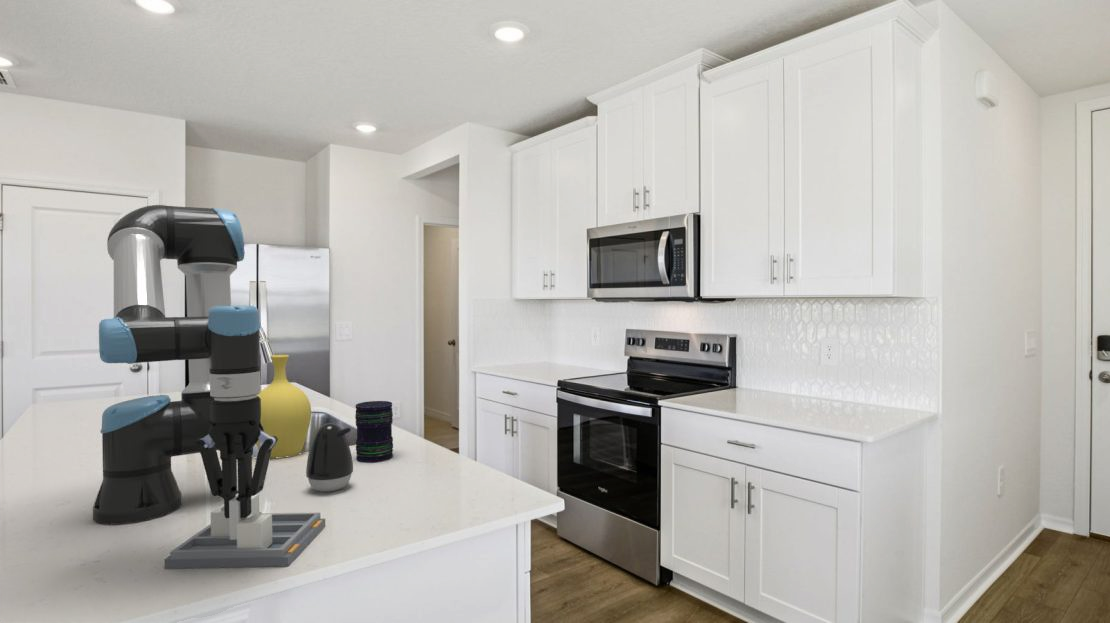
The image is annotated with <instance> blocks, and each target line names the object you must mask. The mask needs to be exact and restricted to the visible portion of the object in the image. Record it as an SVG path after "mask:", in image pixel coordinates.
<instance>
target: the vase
mask: <svg viewBox="0 0 1110 623" xmlns="http://www.w3.org/2000/svg"><path fill="white" fill-rule="evenodd" d="M289 357H290V355H289V354H273V355H270V356H269V358H270V360H271V362H272V364H273V369H274V371H273V373H274V375H273V380H272V381H271V383H270V384H269V385H268V386H266V387H265V388H263V389H261V392H260V393H259V394H257V396H258V397H259V398H261V420H260V422H261V425H262V427H263V429H264V433H266V434H268V435H269V436H271V437H273V436H276V437H277V438H278V441H277V442H276V444H275V446H274V447H273V449H272V451H271V455H270V459H272V458H273V459H277V458H276V457H285V458H287V457H286V456H291V457H293V455H294V456H297V455H300V454H301V453H302V450H303V448H304V446H305V442H306V438H307V436H308V433H309V430H310V425H311V420H312V419H311V418H312V407H311V402H310V399H309V398H308V396H307V395H306V393H305V392H304V391H303V390H302V389H300V388H299V387H297V386H295V385H293V383H291V382H290V381H289V380H288V379H287V374H286V366H287V362H288V360H289ZM259 442H260V441H259V440H258V441H257V443H256V444H255V446H256V447H257V449H258V451H259V449H260V447H259Z"/></svg>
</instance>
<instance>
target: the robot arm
mask: <svg viewBox="0 0 1110 623" xmlns="http://www.w3.org/2000/svg"><path fill="white" fill-rule="evenodd" d="M106 242H107V243H106V244H107V245H106V247H107V252H108V253H107V254H108V255H109V258H110V259H111V260H112V261H113V318H104V319H101V320H100V322H99V324H98V347H99V348H98V351H99V358H100V360H101V362H103V363H106V364H128V365H131V364H132V365H133V364H140V363H155V362H167V361H168V362H169V361H185V360H186V361H187V360H188V381H189V383H188V385H187V386H185V388H184V389H183V390H181V394H180V395H181V400H176V401H174V400H173V401H171V400H172V399H171V398H170V396H169V395H168V394H167V395H166V394H159V395H149V396H143V397H137V398H132V399H129V400H125V401H120V402H118V403H115V404H112V405H110V406H109V407H107V408H106V409H104V411H103V413H102V416H101V429H100V434H102V436H101V437H102V439H101V441H102V443H101V444H102V450H101V451H102V482H101V484H100V486H99V490H98V493H97V495H96V498H95V501H94V504H93V506H92V520H93V522H95V523H97V524H102V525H123V524H130V523H137V522H143V521H146V520H147V521H148V520H151V519H155V518H160V517H162V516H165V515H167V514H170V513H172V512H174V511H176V510H178V509H179V508H180V507H182V506H181V505H182V503H183V502H182V501H183V500H182V499H183V498H182V491H181V490H180V487H179V485H178V483H177V480H176V477H175V475H174V472H173V469H172V457H180V456H187V455H193V454H200V456H201V459H202V463H203V466H204V467H203V468H204V471H205V475H206V477H207V478H206V479H207V483H208V486H209V489H210V493H211V496H213V497H219V498H222V499H223V504H224V515H225V518H229V520H230V540H234V539H237V523H238V522H239V521H241V520H242V519H243V518H247V517H248V516H249V515H250V514H251V497H252V496H254V495H256V494H259V493H260V492H262V491H263V489H264V485H265V481H266V478H267V472H268V467H269V464H270V460H271V458H270V455H271V451H272V449H273V447H274V446H275V444H276V442H277V441H278V438H277V437H276V436H273V437H271V436H269V435H268V434H266V433H264V429H263V427H262V425H261V422H260V420H261V398H259V397H258V396H257V394H259V393H260V392H261V391H262V389H261V387H262V386H261V364H260V363H261V362H260V361H261V360H260V357H261V353H260V345H261V344H260V338H261V337H260V334H261V333H260V331H261V323H260V312H259V309H258V308H257V306H254V305H232V298H231V297H232V296H231V275H232V274H233V273H234V272H235V271H236V270H237V269H238V263H239V262H243V261H244V260H245V252H246V251H245V239H244V233H243V229H242V226H241V223H240V220H239V218H238V216H237V214H236V213H234V212H233V211H231V210H227V209H217V208H215V207H211V208H210V207H191V206H190V207H189V206H175V205H165V204H155V205H145V206H142V207H139V208H136V209H134V210H132V211H130V212H129V213H126V215H124V216H122V217H121V218H120V219H119V220H118V221H117V222H116V223H115V224H114V225H113V227H111V229H110V231H109V233H108V236H107V240H106ZM164 259H166V260H176V261H177V269H178V270H179V271H180V272H182V273H183V274H184V275H185V284H186V286H185V287H186V290H185V291H186V315H187V316H180V317H179V316H172V317H169V316H166V309H165V299H164V298H165V297H164V289H163V279H162V278H163V277H162V266H161V261H162V260H164ZM258 440H259V441H260V442H259V447H260V449H259V450H258V452H257V456H256V461H255V463H254V464H255V465H254V469H253V454H254V447H255V446H256V443H257V441H258ZM217 451H219V455H218V452H217ZM219 459H220V460H219ZM220 461H221V463H220ZM236 495H237V496H236Z"/></svg>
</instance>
